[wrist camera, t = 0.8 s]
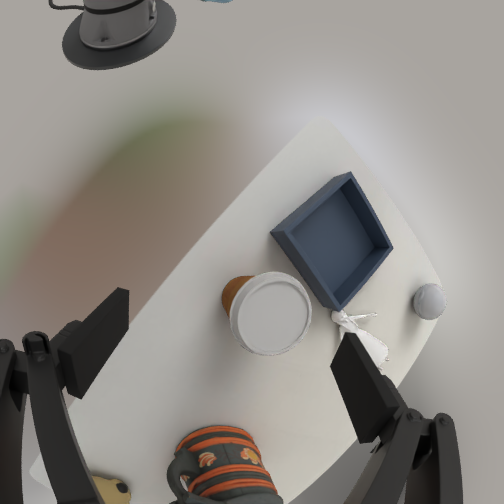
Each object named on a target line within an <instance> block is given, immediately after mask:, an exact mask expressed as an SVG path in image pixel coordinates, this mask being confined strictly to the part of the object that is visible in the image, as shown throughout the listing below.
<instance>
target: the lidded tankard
mask: <svg viewBox="0 0 504 504" xmlns="http://www.w3.org/2000/svg"><path fill="white" fill-rule="evenodd" d="M174 455H175V459H174V460H173V461H172V462H171V464H170V465H169V467H168V470H167V481H168V484H169V486H170V488H171V490H172V492H173V493H174V494H175V496H176V497H177V501H173V502H171V503H169V504H283V499H282V498H281V497H280V496H279V495H278V493H277V490H276V488H275V486H274V484H273V481H272V479H271V477H270V474H269V473H268V471H266V470H265V468H264V466H263V463H262V461H261V454H260V452H259V450H258V448H257V446H256V445H255V443H254V441H253V437H251V436H250V435H249V434H248V433H247V432H246V431H244V430H243V429H239V428H233V427H229V426H211V427H207V428H202V429H200V430H197V431H195V432H193V433H191V434H190V435H189V436H187V437H185V438H184V439H183V440H182V442H181V443H180V444H179V445H178V447H177V449H176V452H175V453H174ZM180 476H181V477H182V479H183V480H184V481H185V483H186V486H187V488H188V491H186V490H185V489H184V488H183V486H182V484H181V481H180Z"/></svg>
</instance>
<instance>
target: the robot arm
mask: <svg viewBox="0 0 504 504" xmlns="http://www.w3.org/2000/svg"><path fill="white" fill-rule="evenodd" d="M201 1H205V2H206V1H212V2H219V3H227V2H230V1H232V0H201ZM83 2H84V6H76V5H71V6H56V5H54V4H53V2H52V0H49V5H50V7H51V8H53V9H58V10H59V9H60V10H62V9H79V10H84V12H83V16H82V20H81V24H80V29H79V34H80V38H81V41H82V43H83V45H84V46H86V47H87V48H89V49H91V50H95V51H113V50H118V49H122V48H125V47H128V46H131V45H133V44H135V43H137V42H139V41H141V40H142V39H144V38H145V37H146V36H148V35H149V34H150V33H151V31H152V30H153V29H154V27H155V25H156V21H157V10H156V7H155V4H156V3H155V1H154V2H153V0H83ZM128 329H129V290H126V289H122V288H117V289H116V290H115V291H114V292H113V293H111V294H110V295H109V296H108V297H107V298H106V299H105V300H104V301H103V302H102V303H101V304H100V305H99V306H98V307H97V308H96V309H95V310H94V311H93V312H92V313H91V314H90V315H89V316H88V317H87V318H86V319H85V320H84V321H83V322H81V321H78V320H75V321H72V322H70V323H68V324H67V325H66V326H65V327H64V328H63V330H61V331H60V332H59V333H58V334H57V335H55V337H53V338H52V339H51V341H49V339H48V336H47V335H46V334H45V333H42V332H39V331H33V332H29V333H28V334H26V335H25V336H24V337H23V339H22V343H23V347H24V351H25V352H22V351H18V350H15V348H14V345H13V343H12V342H11V341H10V340H7V339H0V504H23V493H22V474H21V455H22V433H23V422H24V412H25V405H26V398H27V394H29V395H30V402H31V408H32V414H33V419H34V425H35V429H36V434H37V439H38V442H39V447H40V451H41V454H42V458H43V462H44V465H45V468H46V471H47V474H48V477H49V480H50V483H51V486H52V489H53V491H54V494H55V496H56V499H57V504H105V502H104V500H103V498H102V496H101V494H100V492H99V490H98V488H97V486H96V484H95V482H94V480H93V478H92V476H91V474H90V471H89V469H88V467H87V465H86V462H85V460H84V457H83V455H82V452H81V450H80V447H79V444H78V442H77V439H76V436H75V433H74V430H73V427H72V424H71V421H70V418H69V414H68V411H67V408H66V404H65V401H64V397H63V393H62V390H63V388H64V387H65V386H66V388H67V392H68V394H70V395H72V396H74V397H77V398H79V399H81V400H82V398H83V396H84V395H85V393H86V392H87V390H88V389H89V387H90V385H91V384H92V382H93V381H94V379H95V378H96V376H97V375H98V373H99V372H100V370H101V369H102V367H103V366H104V364H105V363H106V361H107V360H108V358H109V357H110V355H111V354H112V352H113V351H114V349H115V348H116V347H117V345H118V344H119V342H120V341H121V339H122V338H123V337H124V335H125V334H126V332H127V331H128ZM330 367H331V370H332V372H333V375H334V377H335V380H336V382H337V385H338V388H339V390H340V393H341V395H342V398H343V400H344V403H345V406H346V408H347V411H348V413H349V416H350V419H351V421H352V424H353V427H354V429H355V432H356V435H357V437H358V440H359V443H360V444H361V443H370V442H373V441H374V440H375V438H376V437H377V436H378V435H379V437H380V442H379V443H378V444H377V445H376V446H375V448H374V449H373V450H372V451H371V452H370V453H373V454H372V456H371V458H370V460H369V462H368V463H367V465H366V467H365V469H364V471H363V473H362V474H361V476H360V478H359V479H358V481H357V483H356V485H355V486H354V488H353V490H352V491H351V493H350V494H349V496H348V497H347V499H346V501H345V502H344V504H397V502H398V499H399V497H400V494H401V492H402V489H403V487H404V484H405V482H406V479H407V483H406V493H405V503H404V504H463V490H462V475H461V465H460V457H459V450H458V443H457V437H456V431H455V426H454V422H453V419H452V418H451V417H450V416H449V415H447V414H445V413H438V414H437V415H436V416H435V417H434V419H433V420H432V419H425V418H423V416H422V415H421V413H419V412H418V411H417V410H415V409H411V408H408V407H407V405H406V403H405V402H404V400H403V399H402V397H401V395H400V394H399V393H398V390H397V389H396V388H395V385H394V384H393V382H392V381H391V380H390V379H389V378H388V377H387V376H386V375H381V373H380V371H379V370H378V368H377V366H376V365H375V363H374V361H373V360H372V358H371V357H370V355H369V353H368V352H367V350H366V349H365V347H364V345H363V344H362V342H361V341H360V339H359V337H358V336H357V334H356V333H351V332H345V333H344V336H343V338H342V341H341V343H340V345H339V348H338V350H337V352H336V354H335V357H334V359H333V361H332V363H331V365H330Z"/></svg>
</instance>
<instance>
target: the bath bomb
mask: <svg viewBox="0 0 504 504" xmlns="http://www.w3.org/2000/svg"><path fill="white" fill-rule="evenodd" d="M446 303H447V298H446V294H445V292H444V290H443V289H442V288H441V287H440V286H439V285H437V284H433V283H429V284H425V285H423V286H422V287H420V288H419V289H418V291H417V292H416V294H415V297H414V309H415V311H416V313H417V314H418V315H419V316H420V317H421V318H423V319H426V320H433V319H435V318H438V317H439V316H440V315H441V314H442V313H443V311H444V310H445V307H446Z"/></svg>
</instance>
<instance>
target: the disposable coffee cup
mask: <svg viewBox="0 0 504 504" xmlns="http://www.w3.org/2000/svg"><path fill="white" fill-rule="evenodd" d="M222 304H223V307H224V309H225V311H226V313H227V315H228V317H229V319H230V327H231V330H232V333H233V335H234V337H235V339H236V340H237V342H238V343H239V344H240V345H241V346H242V347H243V348H244V349H246V350H248V351H249V352H251V353H254V354H258V355H278V354H282V353H284V352H287V351H289V350H290V349H292V348H294V347H295V346H296V345H297V344H298V343H299V342H300V341H301V340H302V339H303V337H304V336H305V334H306V333H307V331H308V328H309V326H310V322H311V317H312V307H311V301H310V299H309V296H308V294H307V292H306V291H305V289H304V287H303V286H302V285H301V283H300V282H299V281H298V280H296V279H295V278H294V277H292V276H290V275H289V274H285V273H281V272H265V273H262V274H259V275H257V276H240V277H237V278H234V279H233V280H231V281H230V282H229V283H228V284H227V285H226V287H225V288H224V290H223V294H222Z"/></svg>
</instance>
